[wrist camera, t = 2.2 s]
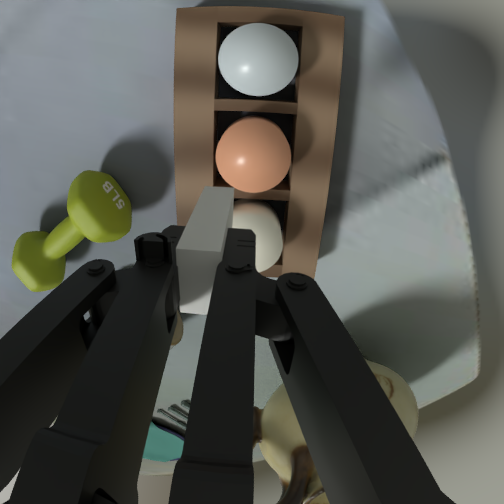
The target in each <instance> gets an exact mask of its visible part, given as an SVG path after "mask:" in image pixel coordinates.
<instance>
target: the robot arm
mask: <svg viewBox="0 0 504 504" xmlns="http://www.w3.org/2000/svg"><path fill="white" fill-rule="evenodd" d="M233 204H234V188H230V187H212V186H205V187H204V189H203V191H202V193H201V195H200V197H199V199H198V202H197V204H196V206H195V208H194V210H193V212H192V214H191V216H190V218H189V221H188V223H187V225H186V226H176V225H170V226H169V227H167V228H166V229H164V230H163V231H162V233H159V232H152V233H146V234H142V235H140V236H138V237H137V238H136V239H135V240H134V244H135V252H136V260H137V261H136V263H135V265H134V266H133V268H131V269H125V270H116V271H115V268H114V265H113V263H112V262H110V261H108V260H103V259H98V260H97V259H96V260H93V261H90V262H87V263H86V264H84V265H82V266H81V267H80V268H79V269H78V270H76V271H75V272H74V273H73V274H72V275H70V276H69V277H68V278H67V279H66V280H65V281H63V282H62V283H61V284H60V285H59V286H58V287H56V288H55V289H54V290H53V291H52V292H51V293H50V294H49V295H47V296H46V297H45V298H44V299H43V300H42V301H41V302H40V303H38V304H37V305H36V306H35V307H34V308H33V309H32V310H31V311H30V312H29V313H27V314H26V315H25V316H24V317H23V318H22V319H21V320H20V321H19V322H18V323H17V324H16V325H15V326H14V327H13V328H12V329H11V330H9V331H8V332H7V333H6V334H5V335H4V336H3V337H2V338H1V339H0V492H1V491H2V490H3V489H4V487H6V486H7V485H8V484H9V482H10V481H11V480H12V478H13V477H14V476H15V475H16V473H17V472H18V470H19V469H20V471H19V473H18V476H17V479H16V482H15V485H14V488H13V490H12V493H11V496H10V499H9V500H8V501H7V502H5V503H3V504H138V492H137V481H138V475H139V471H140V467H141V462H142V458H143V453H144V449H145V444H146V440H147V436H148V432H149V427H150V423H151V419H152V415H153V411H154V407H155V403H156V399H157V395H158V391H159V387H160V384H161V380H162V376H163V372H164V368H165V365H166V361H167V357H168V354H169V350H170V346H171V343H172V339H173V336H174V332H175V328H176V325H177V308H178V305H180V312H182V313H192V314H204V315H207V318H206V323H205V328H204V334H203V339H202V344H201V349H200V354H199V360H198V365H197V370H196V376H195V381H194V387H193V392H192V398H191V404H190V409H189V415H188V421H187V427H186V433H185V439H184V445H183V450H182V455H181V458H180V459H179V460H178V461H177V463H176V465H175V469H174V473H173V479H172V484H171V491H170V497H169V504H253V492H254V471H253V465H252V452H253V409H254V363H255V335H258V336H261V337H264V338H268V339H269V345H270V348H271V350H272V353H273V356H274V359H275V361H276V364H277V367H278V369H279V372H280V375H281V378H282V380H283V383H284V386H285V388H286V391H287V394H288V396H289V399H290V402H291V404H292V407H293V410H294V412H295V415H296V418H297V420H298V423H299V426H300V428H301V431H302V434H303V436H304V439H305V441H306V444H307V447H308V449H309V452H310V455H311V457H312V460H313V462H314V465H315V468H316V470H317V473H318V475H319V478H320V481H321V483H322V486H323V488H324V491H325V493H326V496H327V499H328V501H329V504H456V503H454V502H453V501H452V500H451V499H450V498H449V497H447V496H446V495H445V494H444V493H443V492H442V491H441V490H440V488H439V487H438V485H437V483H436V481H435V479H434V478H433V476H432V474H431V472H430V470H429V468H428V467H427V465H426V463H425V461H424V459H423V458H422V456H421V454H420V452H419V451H418V449H417V447H416V445H415V444H414V442H413V440H412V438H411V436H410V435H409V433H408V431H407V429H406V428H405V426H404V424H403V422H402V421H401V419H400V417H399V416H398V414H397V412H396V411H395V409H394V407H393V405H392V404H391V402H390V400H389V399H388V397H387V395H386V394H385V392H384V390H383V389H382V387H381V385H380V384H379V382H378V380H377V379H376V377H375V375H374V374H373V372H372V370H371V369H370V367H369V365H368V364H367V362H366V361H365V359H364V357H363V356H362V354H361V352H360V351H359V349H358V348H357V346H356V344H355V343H354V341H353V339H352V338H351V336H350V335H349V333H348V331H347V330H346V328H345V327H344V325H343V323H342V322H341V320H340V319H339V317H338V316H337V314H336V312H335V311H334V309H333V308H332V306H331V305H330V303H329V301H328V300H327V298H326V297H325V295H324V294H323V292H322V291H321V289H320V287H319V286H318V284H317V283H316V281H315V280H314V279H313V278H311V277H309V276H308V275H306V274H302V273H298V272H290V273H285V274H283V275H281V276H279V278H278V279H277V281H276V280H272V279H269V278H266V277H265V276H263V275H261V274H260V273H259V272H258V271H257V269H256V266H255V263H256V234H255V233H254V232H253V231H252V230H251V229H239V228H232V226H233ZM88 310H89V314H90V317H89V318H88V319H87V320H85V319H84V316H83V315H84V314H85V313H86V312H87V311H88ZM58 414H59V415H58ZM57 416H58V417H57ZM56 417H57V419H56ZM55 419H56V422H55V423H54V425H53V426H52V427H50V425H51V424H52V423H53V421H54V420H55ZM49 427H50V428H49Z"/></svg>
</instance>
